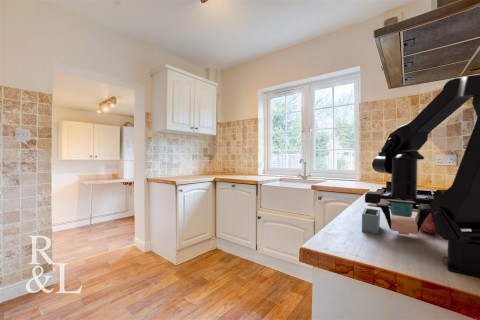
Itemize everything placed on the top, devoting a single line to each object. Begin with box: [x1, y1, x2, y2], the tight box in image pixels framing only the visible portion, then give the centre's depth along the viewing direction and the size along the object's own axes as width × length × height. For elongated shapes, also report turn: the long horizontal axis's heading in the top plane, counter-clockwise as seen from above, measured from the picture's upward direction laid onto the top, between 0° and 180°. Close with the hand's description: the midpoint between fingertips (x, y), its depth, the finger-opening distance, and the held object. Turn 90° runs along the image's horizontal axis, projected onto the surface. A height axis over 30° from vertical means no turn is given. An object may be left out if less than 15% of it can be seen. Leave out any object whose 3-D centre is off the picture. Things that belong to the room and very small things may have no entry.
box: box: [361, 207, 381, 236], centre depth 69 cm, size 9×4×6 cm, turn 145°
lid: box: [390, 214, 419, 236], centre depth 62 cm, size 10×6×3 cm, turn 145°
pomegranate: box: [414, 213, 437, 235], centre depth 66 cm, size 7×7×10 cm
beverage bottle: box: [389, 175, 414, 217], centre depth 80 cm, size 6×7×20 cm
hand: (403, 230), depth 62 cm, fingers closed on lid, 5 cm apart
